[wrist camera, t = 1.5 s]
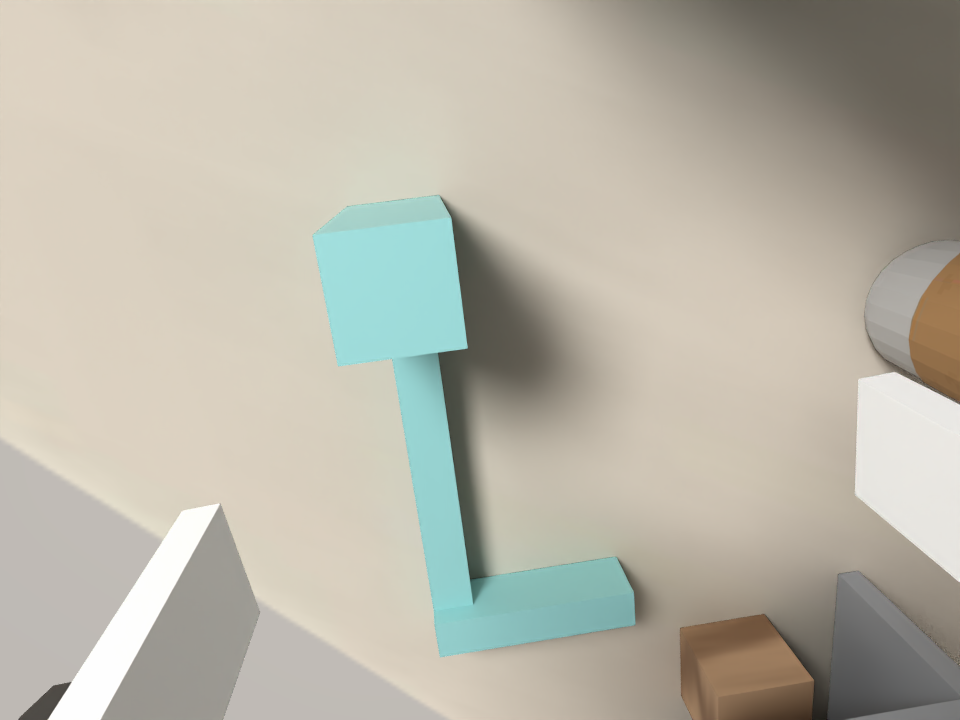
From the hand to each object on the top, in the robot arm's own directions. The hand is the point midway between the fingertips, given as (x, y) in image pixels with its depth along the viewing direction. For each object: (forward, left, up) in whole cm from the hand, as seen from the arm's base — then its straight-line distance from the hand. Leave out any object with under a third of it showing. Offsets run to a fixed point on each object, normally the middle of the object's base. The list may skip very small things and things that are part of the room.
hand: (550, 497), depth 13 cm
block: (+23, +12, -18) cm, 31 cm away
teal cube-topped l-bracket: (+6, 0, -18) cm, 18 cm away
